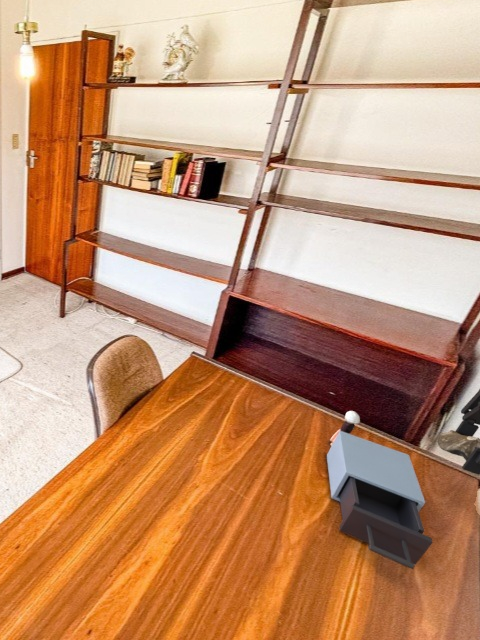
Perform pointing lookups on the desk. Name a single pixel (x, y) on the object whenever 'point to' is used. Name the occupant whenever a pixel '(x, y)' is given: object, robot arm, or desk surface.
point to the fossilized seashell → (458, 443)
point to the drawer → (383, 522)
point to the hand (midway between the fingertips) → (463, 456)
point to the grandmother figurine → (347, 424)
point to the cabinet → (372, 467)
